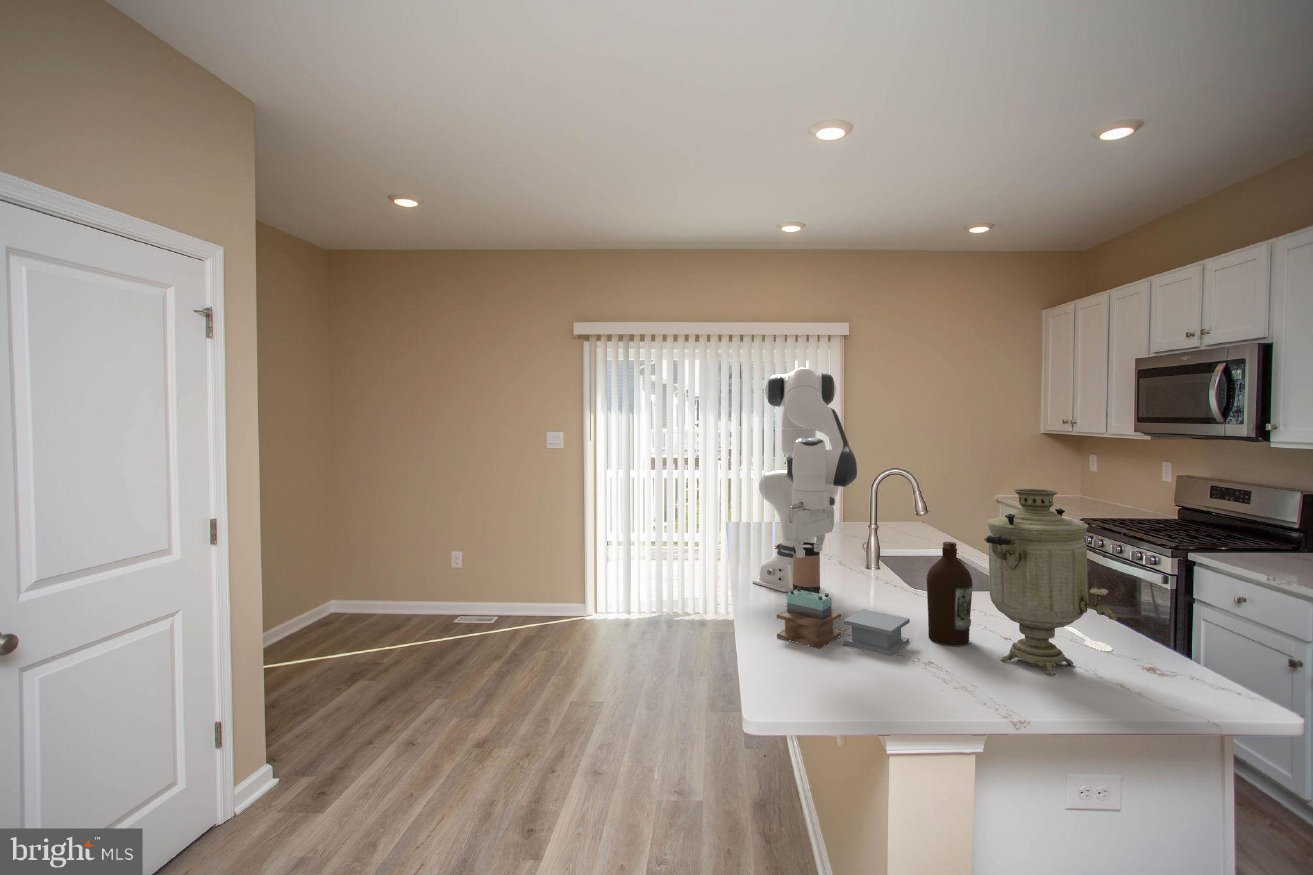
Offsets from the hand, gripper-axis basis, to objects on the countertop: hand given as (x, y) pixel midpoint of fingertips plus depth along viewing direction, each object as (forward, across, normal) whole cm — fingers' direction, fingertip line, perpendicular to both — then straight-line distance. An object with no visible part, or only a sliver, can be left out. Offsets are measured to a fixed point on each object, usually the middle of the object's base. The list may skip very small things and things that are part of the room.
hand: (809, 554), depth 163 cm
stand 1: (+22, 0, 0) cm, 22 cm away
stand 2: (+22, +7, -15) cm, 27 cm away
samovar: (+22, +17, -50) cm, 57 cm away
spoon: (+22, +45, -54) cm, 74 cm away
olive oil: (+22, +21, -28) cm, 41 cm away
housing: (+16, 0, 0) cm, 16 cm away
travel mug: (+22, +17, +10) cm, 29 cm away
